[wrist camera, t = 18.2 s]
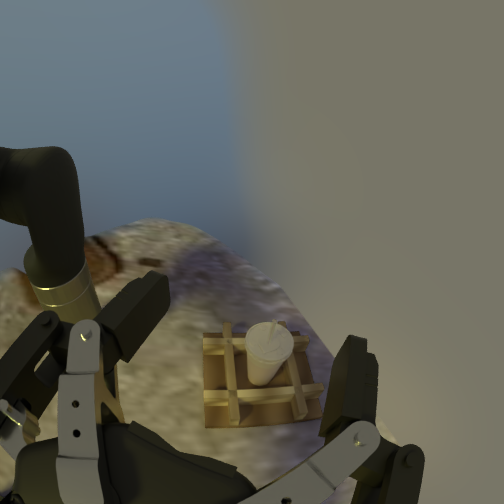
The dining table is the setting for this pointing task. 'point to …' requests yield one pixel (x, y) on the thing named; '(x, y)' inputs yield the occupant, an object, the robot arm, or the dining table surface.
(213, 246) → the dining table surface
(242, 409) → the wooden grid tray
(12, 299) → the dining table surface
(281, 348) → the smoothie
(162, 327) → the dining table surface
